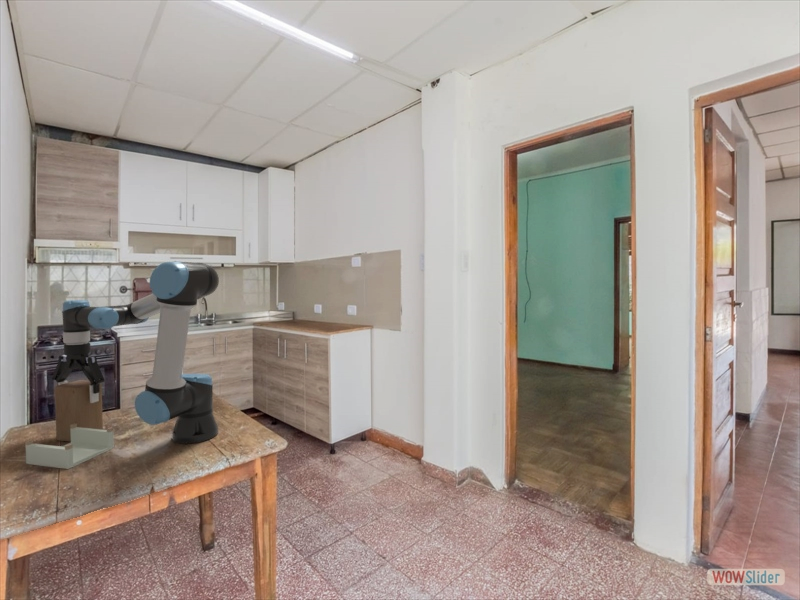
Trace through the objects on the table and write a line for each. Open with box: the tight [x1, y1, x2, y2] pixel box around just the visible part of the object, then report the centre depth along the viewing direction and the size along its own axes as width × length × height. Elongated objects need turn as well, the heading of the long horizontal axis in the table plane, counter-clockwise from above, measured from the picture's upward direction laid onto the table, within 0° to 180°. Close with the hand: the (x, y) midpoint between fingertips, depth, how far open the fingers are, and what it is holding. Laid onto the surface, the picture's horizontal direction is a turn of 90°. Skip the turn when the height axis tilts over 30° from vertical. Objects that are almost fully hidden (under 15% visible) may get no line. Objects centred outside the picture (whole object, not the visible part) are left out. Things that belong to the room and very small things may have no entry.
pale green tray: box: [25, 424, 115, 470], centre depth 130 cm, size 16×16×7 cm
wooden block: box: [54, 379, 104, 443], centre depth 145 cm, size 10×10×20 cm
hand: (78, 400), depth 145 cm, fingers open, 13 cm apart
